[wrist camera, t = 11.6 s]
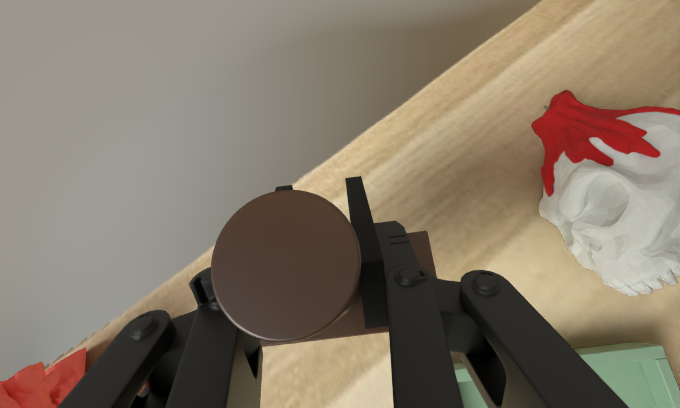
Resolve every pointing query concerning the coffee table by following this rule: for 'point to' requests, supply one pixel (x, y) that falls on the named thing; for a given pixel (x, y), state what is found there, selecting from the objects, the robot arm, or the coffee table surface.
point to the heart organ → (43, 383)
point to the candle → (614, 189)
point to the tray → (611, 375)
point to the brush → (294, 270)
